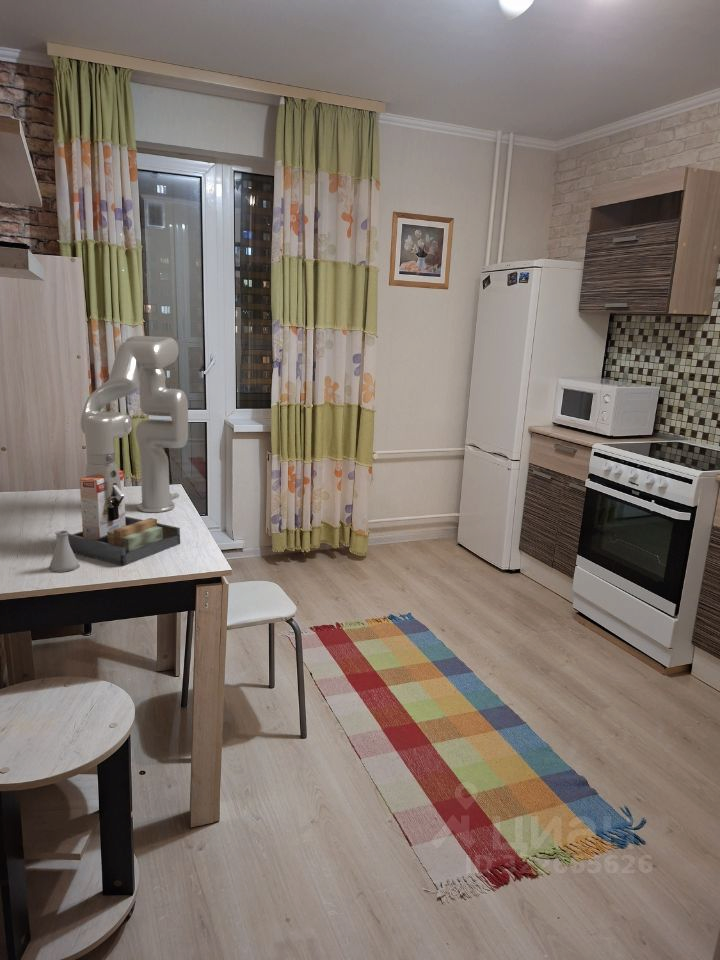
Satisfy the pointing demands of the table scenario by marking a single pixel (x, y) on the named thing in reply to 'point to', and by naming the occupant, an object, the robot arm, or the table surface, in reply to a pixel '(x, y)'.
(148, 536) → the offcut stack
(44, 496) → the table surface
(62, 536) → the flask
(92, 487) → the cracker box
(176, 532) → the tray
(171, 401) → the robot arm
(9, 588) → the table surface
